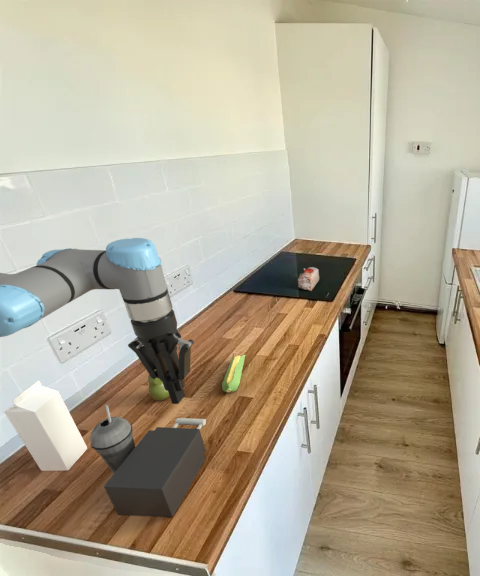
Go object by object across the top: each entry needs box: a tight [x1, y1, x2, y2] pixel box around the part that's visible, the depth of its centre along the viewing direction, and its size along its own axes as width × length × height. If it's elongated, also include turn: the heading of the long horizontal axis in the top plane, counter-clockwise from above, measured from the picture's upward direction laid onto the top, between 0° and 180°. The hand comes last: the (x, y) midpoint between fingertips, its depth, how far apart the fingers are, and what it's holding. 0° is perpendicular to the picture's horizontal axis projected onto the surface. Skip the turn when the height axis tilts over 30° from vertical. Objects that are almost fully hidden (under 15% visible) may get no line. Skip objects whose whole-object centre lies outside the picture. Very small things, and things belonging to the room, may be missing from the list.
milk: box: [4, 380, 88, 472], centre depth 73 cm, size 6×6×22 cm
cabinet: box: [103, 429, 206, 518], centre depth 72 cm, size 13×11×9 cm
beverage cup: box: [89, 404, 136, 475], centre depth 72 cm, size 7×7×20 cm
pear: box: [147, 370, 170, 401], centre depth 95 cm, size 6×5×10 cm
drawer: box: [153, 417, 207, 454], centre depth 76 cm, size 18×10×8 cm, turn 179°
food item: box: [297, 266, 320, 292], centre depth 168 cm, size 14×8×10 cm, turn 173°
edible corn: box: [221, 353, 246, 393], centre depth 106 cm, size 5×20×5 cm, turn 12°
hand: (178, 399), depth 77 cm, fingers closed
